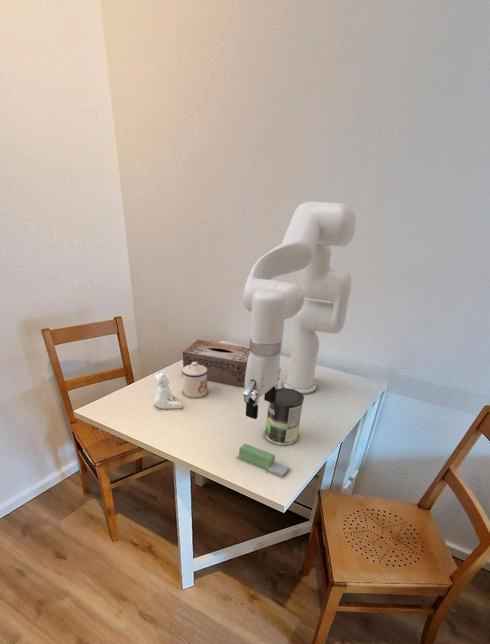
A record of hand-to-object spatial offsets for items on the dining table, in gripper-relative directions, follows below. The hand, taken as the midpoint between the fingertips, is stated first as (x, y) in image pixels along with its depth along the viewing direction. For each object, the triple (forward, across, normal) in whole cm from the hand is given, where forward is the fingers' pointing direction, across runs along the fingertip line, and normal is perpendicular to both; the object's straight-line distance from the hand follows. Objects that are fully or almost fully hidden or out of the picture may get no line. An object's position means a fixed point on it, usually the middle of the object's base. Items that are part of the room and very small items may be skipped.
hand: (260, 409), depth 101 cm
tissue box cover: (+17, -40, -40) cm, 60 cm away
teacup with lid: (+17, -23, -39) cm, 49 cm away
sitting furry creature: (+17, -8, -41) cm, 45 cm away
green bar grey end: (+16, +2, +3) cm, 17 cm away
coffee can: (+17, -14, +1) cm, 22 cm away
